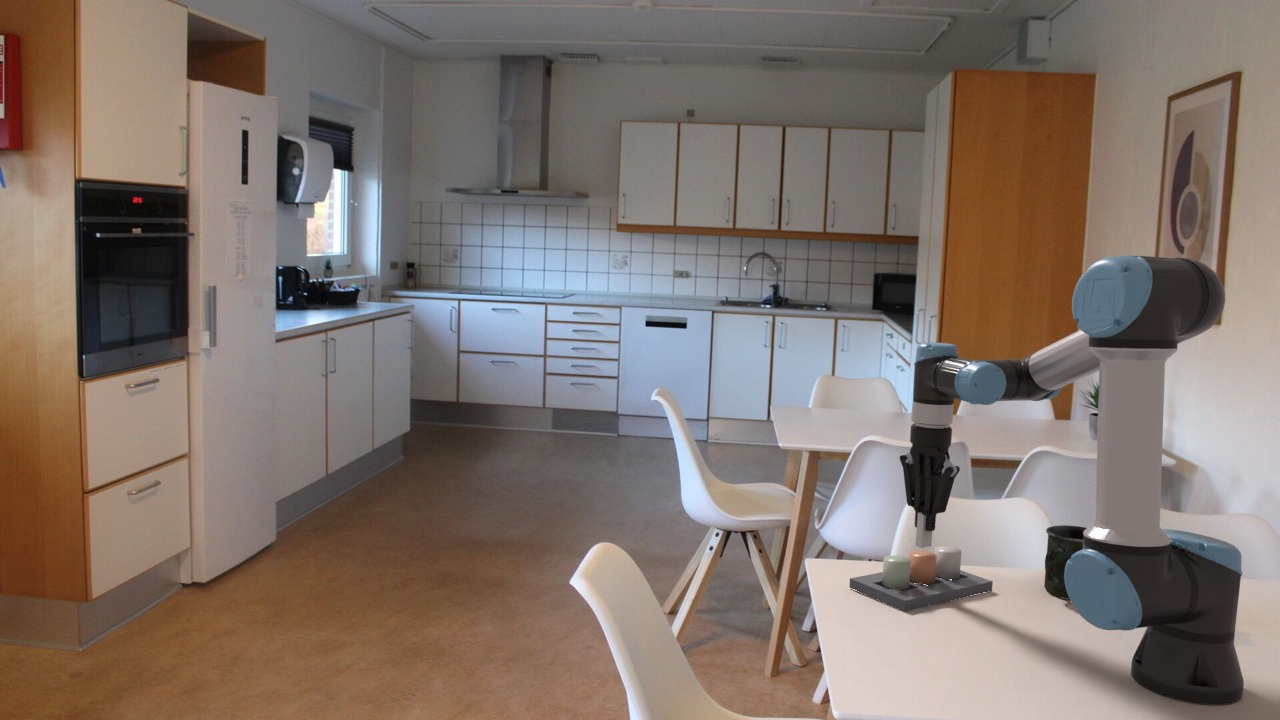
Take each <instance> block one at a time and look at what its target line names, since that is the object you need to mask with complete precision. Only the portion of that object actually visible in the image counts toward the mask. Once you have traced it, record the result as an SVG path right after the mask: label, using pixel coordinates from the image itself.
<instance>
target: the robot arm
mask: <svg viewBox="0 0 1280 720" xmlns="http://www.w3.org/2000/svg"><path fill="white" fill-rule="evenodd" d="M1224 287H1225V286H1224V284H1223V282H1222V281H1221V278H1220V277H1219V275H1218V274H1217V272H1215V271H1214V270H1213V269H1212V268H1211V267H1209V266H1208V265H1206V264H1205V263H1203V262H1201V261H1199V260H1197V259H1192V258H1185V257H1163V256H1162V257H1161V256H1147V255H1130V254H1127V255H1118V256H1116V255H1115V256H1107V257H1104V258H1101V259H1099V260H1097V261H1095V262H1094V263H1092V264H1091V265H1090V266H1088V268H1087V270H1086V271H1085V272H1083V273H1082V275H1081V276H1080V277H1079V279H1078V281H1077V283H1076V285H1075V287H1074V291H1073V295H1072V299H1071V313H1072V316H1073V320H1074V322H1077V328H1079V330H1077V331H1076V332H1073V333H1071V334H1069V335H1068V336H1065V337H1063V338H1062V339H1059V340H1057V341H1055V342H1054V343H1051V344H1049V345H1047V346H1045V347H1043V348H1042V349H1039V350H1038V351H1036V352H1034V353H1032V354H1029V355H1027V356H1025V357H1023V358H1021V359H1019V358H1018V359H1013V358H1012V359H969V358H961V357H959V354H958V346H957V345H956V344H953V343H946V342H921V343H919V344H918V345H917V347H916V352H915V360H914V364H913V366H914V368H913V369H914V370H913V387H912V388H913V392H912V397H913V398H912V405H911V422H913V423H912V424H911V425H910V437H909V442H910V444H912V445H911V446H910V449H909V452H908V453H906V454H902V455H899V460H900V463H901V464H900V465H901V466H902V471H903V480H904V487H905V488H904V489H905V498H906V504H907V506H908V507H911V508H913V510H914V511H915V514H914V515H915V516H914V527H915V528H916V534H915V547H918V548H921V549H923V548H928V547H932V541H933V531H935V529H936V522H937V521H936V519H937V515H938V514H942V513H946V511H947V506H948V504H949V500H950V496H951V492H952V489H953V486H954V482H955V479H956V477H957V476H958V474H959V472H960V471H961V468H960V466H958V465H956V466H955V465H954V464H953V463H952V461H951V458H950V453H949V448H950V447H951V445H952V438H953V437H952V435H953V428H952V427H951V426H950V425H952V424H953V422H954V421H953V419H954V408H955V407H954V405H955V400H959V401H962V402H966V403H969V404H971V405H982V406H990V405H993V404H994V403H996V402H1011V401H1012V402H1013V401H1015V402H1018V401H1022V402H1023V401H1030V402H1041V401H1043V400H1051V399H1054V398H1056V397H1057V396H1058V395H1059V393H1060V392H1061V390H1062V389H1063V387H1065V386H1067V385H1070V384H1071V383H1074V382H1076V381H1078V380H1081V379H1084V378H1086V377H1087V376H1090V375H1093V374H1095V373H1097V372H1098V375H1099V376H1098V398H1097V399H1098V402H1097V403H1098V406H1097V407H1098V408H1097V434H1096V435H1097V436H1096V438H1097V440H1096V441H1097V444H1096V471H1095V472H1096V475H1095V476H1096V477H1095V504H1094V505H1095V507H1094V509H1095V510H1094V512H1095V513H1094V522H1092V524H1090V525H1089V526H1088V527H1086V528H1087V529H1086V530H1084V532H1083V549H1082V550H1080V551H1077V552H1076V553H1074V554H1073V555H1072V556H1071V559H1069V560H1068V561H1067V563H1066V567H1065V573H1064V579H1065V586H1066V590H1067V593H1068V596H1069V598H1070V599H1069V600H1070V602H1071V605H1072V606H1073V607H1074V608H1076V611H1077V613H1078V614H1079V615H1080V617H1082V619H1083V620H1085V621H1086V622H1087V623H1089V624H1090V625H1092V626H1093V627H1096V628H1098V629H1101V630H1104V631H1125V632H1126V631H1132V630H1133V631H1134V630H1136V629H1141V628H1146V629H1145V631H1144V633H1143V636H1142V638H1141V640H1140V642H1139V643H1138V646H1137V648H1136V650H1135V652H1134V654H1133V656H1132V658H1131V667H1130V676H1131V678H1132V679H1133V680H1134V681H1135V682H1137V683H1138V684H1139V685H1141V686H1142V687H1144V688H1146V689H1148V690H1150V691H1151V692H1154V693H1157V694H1160V695H1162V696H1164V697H1168V698H1171V699H1174V700H1178V701H1184V702H1189V703H1193V704H1201V705H1214V706H1215V705H1216V706H1217V705H1219V706H1220V705H1229V704H1234V703H1237V702H1239V701H1240V700H1241V699H1242V698H1243V694H1244V693H1243V692H1244V685H1245V684H1244V682H1245V681H1244V677H1243V673H1242V669H1241V666H1240V662H1239V657H1238V654H1237V650H1236V646H1235V637H1236V635H1235V634H1236V633H1235V632H1236V628H1237V627H1236V625H1237V618H1238V617H1237V616H1238V606H1239V599H1240V598H1239V596H1240V587H1241V578H1242V576H1243V570H1242V559H1243V558H1242V553H1241V551H1240V550H1239V549H1238V547H1236V546H1235V545H1234V544H1232V543H1229V542H1227V541H1225V540H1222V539H1218V538H1215V537H1211V536H1207V535H1203V534H1199V533H1195V532H1189V531H1184V530H1177V529H1170V528H1162V527H1161V526H1160V525H1161V500H1162V499H1161V497H1162V469H1163V439H1164V438H1163V437H1164V411H1165V410H1164V405H1165V404H1164V403H1165V378H1166V377H1165V374H1166V373H1165V372H1166V362H1167V360H1168V359H1170V358H1171V357H1172V356H1173V355H1174V354H1175V353H1176V352H1178V344H1181V343H1183V342H1185V341H1188V340H1190V339H1192V338H1194V337H1197V336H1199V335H1201V334H1203V333H1205V332H1206V331H1208V330H1210V329H1211V328H1212V327H1213V326H1214V325H1215V324H1216V323H1217V321H1218V320H1219V319H1220V318H1221V316H1222V313H1223V311H1224V309H1225V304H1226V291H1225V288H1224Z"/></svg>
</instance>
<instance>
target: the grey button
mask: <svg viewBox="0 0 1280 720" xmlns="http://www.w3.org/2000/svg"><path fill="white" fill-rule="evenodd" d="M934 554H936V555H937V559H936V574H935V576H937V577H941V578H942V579H945V578H946V579H945V580H948V579H956V578H959V577H960V570H961V564H962V563H961V562H962V550H961V549H960V548H957V547H953V546H946V545H945V546H943V545H942V546H941V545H940V546H935V547H934Z"/></svg>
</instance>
